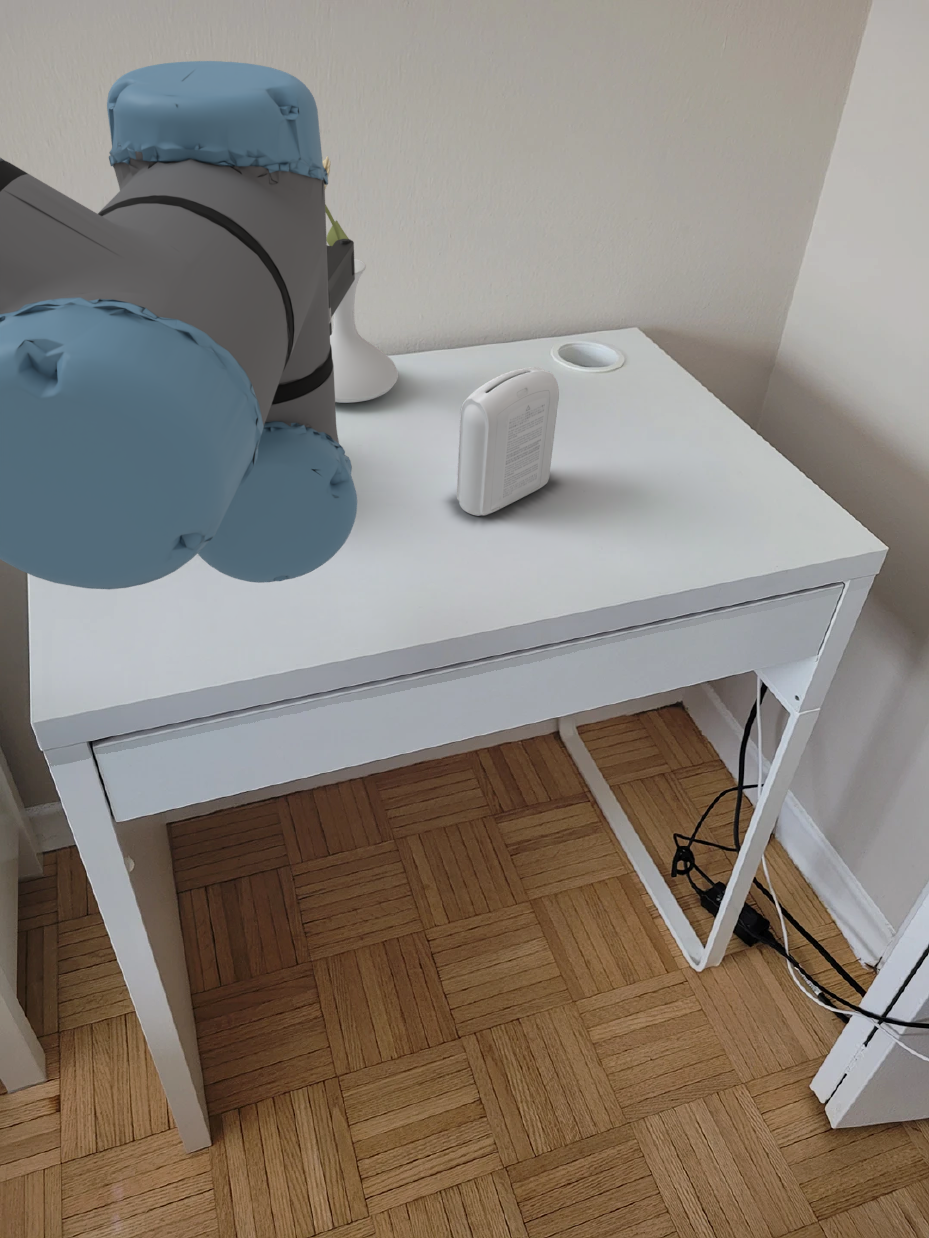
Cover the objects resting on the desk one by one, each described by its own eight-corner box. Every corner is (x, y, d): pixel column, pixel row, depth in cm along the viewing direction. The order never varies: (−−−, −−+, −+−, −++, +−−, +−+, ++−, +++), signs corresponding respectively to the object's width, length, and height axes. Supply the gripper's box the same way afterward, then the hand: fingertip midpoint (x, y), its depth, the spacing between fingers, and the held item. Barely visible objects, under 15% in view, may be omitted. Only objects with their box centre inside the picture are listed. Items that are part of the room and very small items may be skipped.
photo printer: (523, 466, 95) (534, 350, 87) (555, 484, 93) (569, 366, 85) (449, 504, 90) (452, 384, 82) (481, 523, 87) (488, 402, 79)
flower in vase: (315, 360, 111) (298, 127, 95) (409, 372, 110) (408, 138, 94) (276, 412, 102) (250, 163, 85) (378, 426, 100) (372, 175, 84)
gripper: (-7, 456, 50) (4, 298, 65) (447, 402, 56) (362, 270, 71) (-52, 318, 45) (-28, 182, 60) (452, 277, 51) (359, 163, 66)
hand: (184, 230), depth 66 cm, fingers open, 13 cm apart
